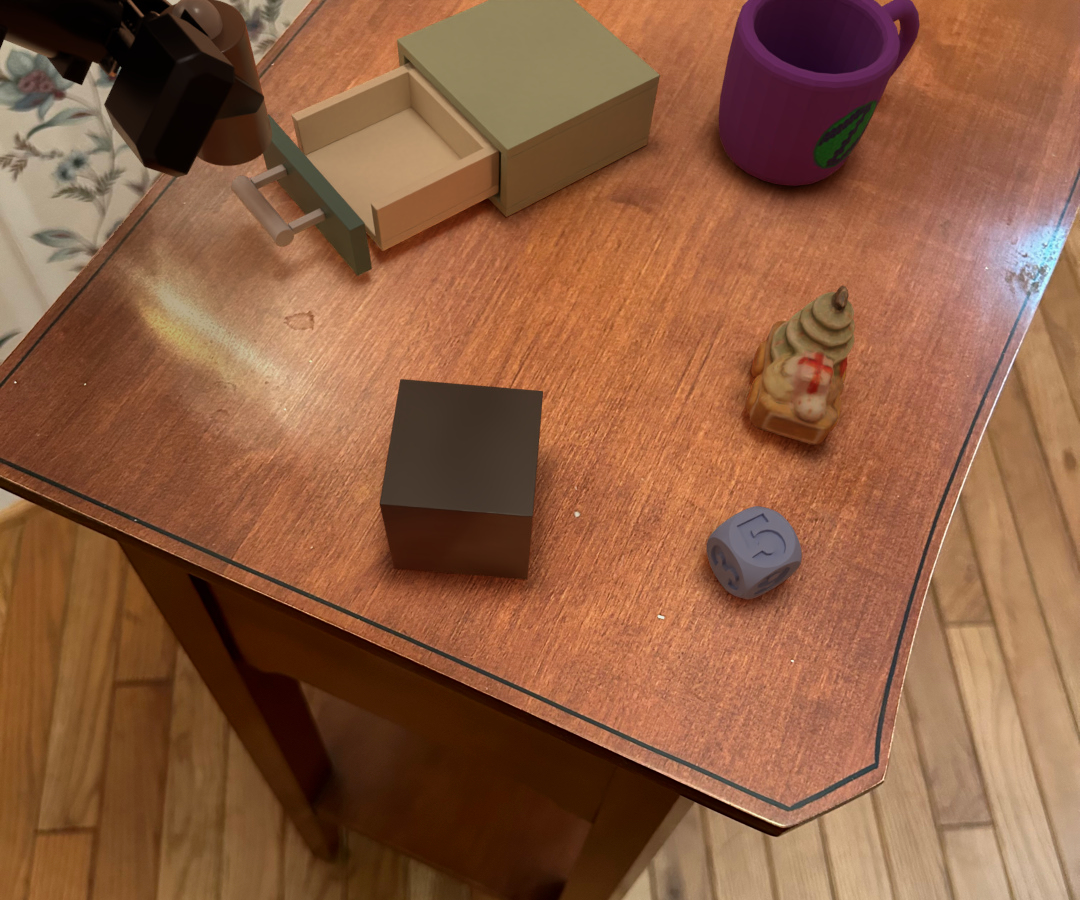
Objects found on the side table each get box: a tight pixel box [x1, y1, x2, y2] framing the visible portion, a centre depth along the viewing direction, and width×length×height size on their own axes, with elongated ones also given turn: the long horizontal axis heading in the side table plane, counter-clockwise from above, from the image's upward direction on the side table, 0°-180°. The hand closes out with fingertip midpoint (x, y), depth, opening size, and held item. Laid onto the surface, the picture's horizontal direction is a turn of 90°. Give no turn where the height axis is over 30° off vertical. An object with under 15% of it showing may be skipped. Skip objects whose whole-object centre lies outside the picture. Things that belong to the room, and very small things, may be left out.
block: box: [378, 378, 544, 580], centre depth 54 cm, size 8×8×8 cm
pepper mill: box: [159, 0, 272, 167], centre depth 54 cm, size 5×5×9 cm
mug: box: [718, 0, 921, 187], centre depth 70 cm, size 17×11×10 cm, turn 124°
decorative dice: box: [705, 505, 803, 600], centre depth 55 cm, size 4×4×4 cm
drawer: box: [230, 62, 499, 277], centre depth 66 cm, size 16×12×4 cm
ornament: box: [745, 285, 856, 446], centre depth 58 cm, size 8×6×10 cm
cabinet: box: [396, 0, 661, 218], centre depth 71 cm, size 14×14×6 cm
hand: (237, 77), depth 55 cm, fingers closed on pepper mill, 5 cm apart
